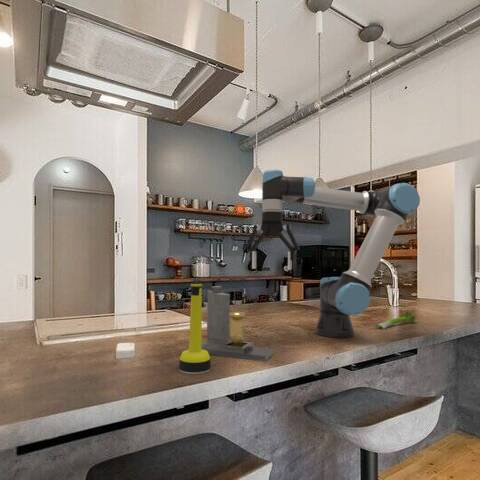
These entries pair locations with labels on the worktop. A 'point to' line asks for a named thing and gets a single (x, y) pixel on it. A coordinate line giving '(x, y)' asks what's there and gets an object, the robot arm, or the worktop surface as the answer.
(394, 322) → the leek
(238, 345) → the pin
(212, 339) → the grey socket base
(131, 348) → the soap
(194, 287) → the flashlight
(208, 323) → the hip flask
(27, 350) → the worktop surface
